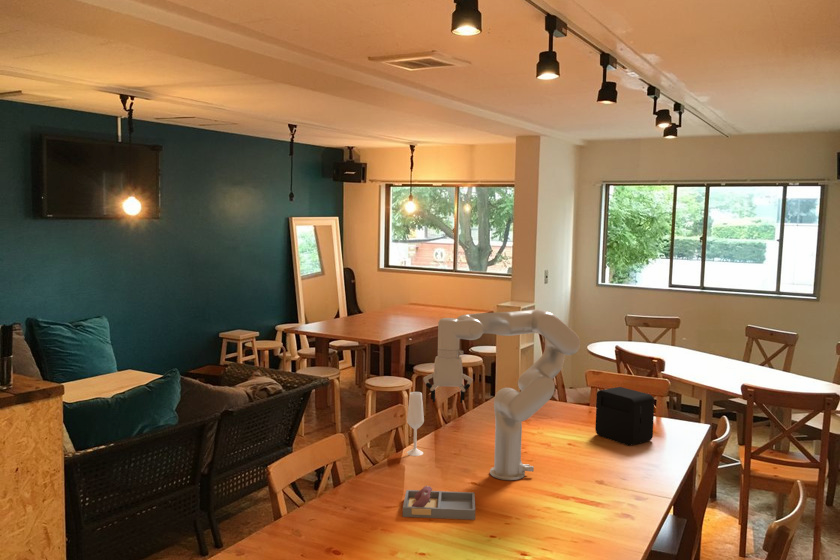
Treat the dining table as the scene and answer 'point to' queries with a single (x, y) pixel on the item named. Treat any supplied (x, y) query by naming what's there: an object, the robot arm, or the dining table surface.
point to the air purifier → (624, 415)
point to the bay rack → (441, 505)
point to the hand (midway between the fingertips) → (447, 401)
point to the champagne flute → (415, 418)
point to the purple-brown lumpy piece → (422, 497)
